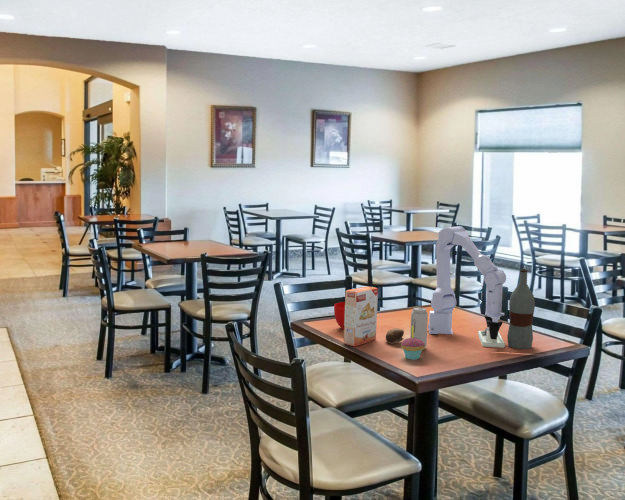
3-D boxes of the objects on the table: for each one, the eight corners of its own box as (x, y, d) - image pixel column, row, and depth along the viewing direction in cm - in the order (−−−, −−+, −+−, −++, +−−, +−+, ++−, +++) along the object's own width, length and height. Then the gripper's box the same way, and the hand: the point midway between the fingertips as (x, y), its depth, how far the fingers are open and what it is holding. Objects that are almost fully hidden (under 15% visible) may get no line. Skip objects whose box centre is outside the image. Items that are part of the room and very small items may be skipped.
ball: (484, 338, 257) (485, 328, 256) (483, 335, 261) (484, 325, 260) (495, 338, 256) (495, 328, 256) (493, 336, 260) (494, 326, 259)
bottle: (537, 348, 245) (542, 270, 241) (521, 352, 240) (525, 271, 236) (517, 343, 252) (522, 266, 249) (501, 346, 248) (505, 268, 244)
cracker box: (355, 347, 243) (357, 292, 240) (342, 344, 247) (344, 290, 244) (377, 340, 254) (378, 287, 251) (364, 337, 257) (366, 285, 255)
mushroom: (410, 333, 252) (401, 321, 250) (406, 345, 245) (397, 333, 244) (393, 340, 256) (385, 328, 255) (389, 352, 250) (380, 340, 248)
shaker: (486, 344, 248) (487, 328, 247) (485, 341, 252) (486, 326, 251) (497, 344, 247) (498, 329, 246) (496, 342, 251) (497, 326, 250)
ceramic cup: (378, 328, 273) (378, 304, 271) (347, 334, 262) (347, 309, 261) (357, 322, 283) (358, 299, 282) (327, 327, 273) (327, 304, 271)
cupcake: (398, 354, 234) (399, 321, 233) (421, 354, 235) (422, 321, 234) (403, 361, 226) (404, 327, 224) (427, 361, 227) (428, 327, 225)
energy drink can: (407, 346, 245) (408, 307, 243) (420, 345, 247) (422, 306, 245) (415, 351, 239) (417, 311, 237) (429, 349, 241) (431, 309, 240)
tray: (482, 347, 245) (482, 342, 245) (478, 335, 262) (478, 330, 262) (504, 349, 244) (504, 343, 243) (498, 337, 261) (498, 331, 261)
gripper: (507, 306, 240) (505, 341, 241) (502, 298, 254) (500, 332, 256) (487, 305, 241) (486, 340, 243) (483, 297, 255) (482, 331, 257)
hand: (492, 336), depth 249 cm, fingers open, 7 cm apart
